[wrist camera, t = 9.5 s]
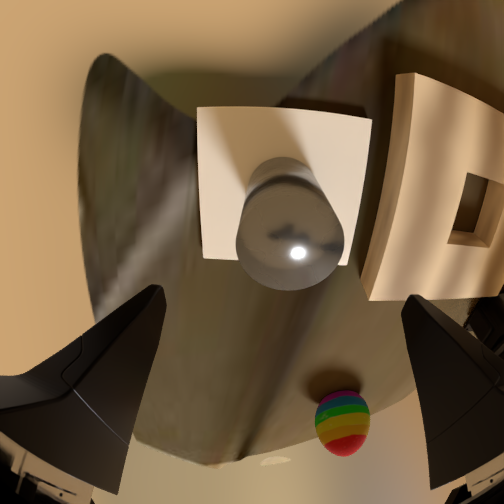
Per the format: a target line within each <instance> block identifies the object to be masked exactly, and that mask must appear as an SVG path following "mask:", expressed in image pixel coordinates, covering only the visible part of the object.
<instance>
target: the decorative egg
mask: <svg viewBox="0 0 504 504" xmlns="http://www.w3.org/2000/svg"><path fill="white" fill-rule="evenodd" d="M315 427H316V432H317V435H318V437H319V439H320V441H321V443H322V444H323V445H324V446H325V448H326V449H327V450H329V451H330V452H331V453H333V454H335V455H337V456H349V455H351V454H353V453H355V452H356V451H357V450H358V449H359V448H360V447H361V446H362V444H363V443H364V441H365V439H366V437H367V435H368V431H369V427H370V413H369V409H368V406H367V404H366V402H365V400H364V399H363V398H362V397H361V396H360V395H359V394H358V393H356V392H354V391H350V390H344V391H337V392H334V393H331V394H329V395H327V396H326V397H325V398H323V400H322V401H321V402H320V404H319V406H318V408H317V411H316V415H315Z"/></svg>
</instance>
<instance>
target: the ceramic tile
mask: <svg viewBox="0 0 504 504" xmlns="http://www.w3.org/2000/svg"><path fill="white" fill-rule="evenodd" d="M371 124H372V120H371V119H366V118H361V117H355V116H349V115H343V114H336V113H329V112H321V111H313V110H303V109H291V108H277V107H254V106H253V107H252V106H214V107H197V145H198V176H199V198H200V216H201V232H202V246H203V258H211V259H229V260H238V257H237V253H236V245H235V244H236V236H237V231H238V227H239V222H240V218H241V213H242V209H243V205H244V200H245V196H246V192H247V187H248V183H249V180H250V177H251V175H252V173H253V172H254V170H255V169H256V168H257V167H258V166H259V165H260V164H262V163H263V162H265V161H267V160H269V159H272V158H275V157H290V158H294V159H296V160H299V161H300V162H302V163H304V164H305V165H306V166H307V167H308V168H309V169H310V170H311V171H312V173H313V175H314V176H315V178H316V180H317V181H318V183H319V185H320V187H321V188H322V190H323V192H324V194H325V195H326V197H327V199H328V201H329V203H330V204H331V206H332V208H333V210H334V212H335V214H336V215H337V217H338V219H339V221H340V223H341V225H342V228H343V231H344V251H343V254H342V257H341V259H340V261H339V263H338V265H347V262H348V258H349V253H350V249H351V245H352V240H353V236H354V231H355V226H356V222H357V217H358V212H359V206H360V201H361V195H362V190H363V184H364V178H365V171H366V165H367V158H368V150H369V142H370V134H371Z"/></svg>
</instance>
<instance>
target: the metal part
mask: <svg viewBox="0 0 504 504" xmlns="http://www.w3.org/2000/svg"><path fill="white" fill-rule="evenodd" d="M235 245H236V253H237V257H238V260H239V262H240V264H241V266H242V267H243V269H244V270H245V271H246V273H247V274H248V275H249V276H250V277H251V278H253V279H254V280H255V281H257V282H259V283H260V284H262V285H265V286H267V287H270V288H273V289H278V290H299V289H303V288H307V287H310V286H312V285H315V284H317V283H319V282H320V281H322V280H323V279H325V278H326V277H327V276H328V275H329V274H330V273H331V272H332V271H333V270H334V269H335V268H336V266H337V265H338V263H339V261H340V259H341V257H342V254H343V251H344V231H343V228H342V225H341V223H340V221H339V219H338V217H337V215H336V214H335V212H334V210H333V208H332V206H331V204H330V203H329V201H328V199H327V197H326V195H325V194H324V192H323V190H322V188H321V187H320V185H319V183H318V181H317V180H316V178H315V176H314V175H313V173H312V171H311V170H310V169H309V168H308V167H307V166H306V165H305V164H304V163H302V162H300V161H299V160H296V159H294V158H290V157H275V158H272V159H269V160H267V161H265V162H263V163H262V164H260V165H259V166H258V167H257V168H256V169H255V170H254V172H253V173H252V175H251V177H250V180H249V183H248V187H247V192H246V196H245V200H244V205H243V209H242V213H241V218H240V222H239V227H238V231H237V236H236V244H235Z"/></svg>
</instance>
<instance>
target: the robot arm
mask: <svg viewBox="0 0 504 504" xmlns="http://www.w3.org/2000/svg"><path fill="white" fill-rule="evenodd" d="M166 307H167V304H166V299H165V294H164V289H163V287H162V286H161V285H155V284H151V285H149V286H148V287H146V288H145V289H144V290H142V291H141V292H139V293H138V294H137V295H135V296H134V297H132V298H131V299H130V300H128V301H127V302H125V303H124V304H123V305H121V306H120V307H119V308H117V309H116V310H114V311H113V312H112V313H110V314H109V315H108V316H106V317H105V318H104V319H102V320H101V321H99V322H98V323H97V324H95V325H94V326H93V327H92V328H90V329H89V330H87V331H86V332H85V333H83V335H82V336H80V337H78V338H77V339H75V340H74V341H73V342H71V343H70V344H69V345H67V346H66V347H65V348H63V349H62V350H60V351H59V352H57V353H56V354H54V355H53V356H51V357H49V358H48V359H46V360H45V361H43V362H42V363H40V364H39V365H37V366H35V367H34V368H32V369H31V370H29V371H27V372H25V373H23V374H20V375H15V376H0V504H95V503H94V502H93V500H92V498H91V496H92V492H93V488H94V486H95V487H97V488H100V489H102V490H105V491H107V492H110V493H112V494H115V495H117V494H118V491H119V486H120V482H121V477H122V473H123V468H124V464H125V460H126V456H127V452H128V448H129V447H128V445H129V443H130V439H131V435H132V432H133V428H134V424H135V421H136V417H137V413H138V410H139V406H140V403H141V400H142V396H143V393H144V389H145V386H146V383H147V380H148V376H149V373H150V370H151V367H152V364H153V361H154V357H155V354H156V351H157V348H158V345H159V340H160V336H161V331H162V326H163V322H164V317H165V313H166ZM401 317H402V322H403V328H404V333H405V339H406V345H407V350H408V354H409V358H410V362H411V366H412V370H413V374H414V378H415V382H416V387H417V392H418V396H419V401H420V407H421V412H422V417H423V424H424V430H425V437H426V443H427V454H428V464H429V477H430V489H431V490H433V489H436V488H438V487H441V486H443V485H445V484H447V483H450V482H452V481H454V480H456V479H458V478H460V477H462V476H464V475H465V478H466V483H465V484H463V485H461V486H459V487H457V488H455V489H453V490H452V492H451V493H450V495H449V497H448V499H447V500H446V502H445V504H504V292H499V294H498V296H491V297H481V299H480V301H479V302H478V304H477V306H476V308H475V310H474V311H473V313H472V315H471V316H470V318H469V320H468V321H467V323H466V325H465V326H464V328H463V327H462V326H460V325H459V324H458V323H456V322H455V321H454V320H453V319H451V318H450V317H449V316H447V315H446V314H445V313H444V312H442V311H441V310H440V309H438V308H437V307H436V306H434V305H433V304H432V303H430V302H429V301H428V300H426V299H425V298H423V297H422V296H421V295H419V294H411V295H409V296H408V298H407V300H406V302H405V305H404V307H403V309H402V312H401ZM469 331H473V332H474V334H475V335H476V337H477V339H476V338H475V337H474V336H473V335H472V334H470V333H469Z"/></svg>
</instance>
